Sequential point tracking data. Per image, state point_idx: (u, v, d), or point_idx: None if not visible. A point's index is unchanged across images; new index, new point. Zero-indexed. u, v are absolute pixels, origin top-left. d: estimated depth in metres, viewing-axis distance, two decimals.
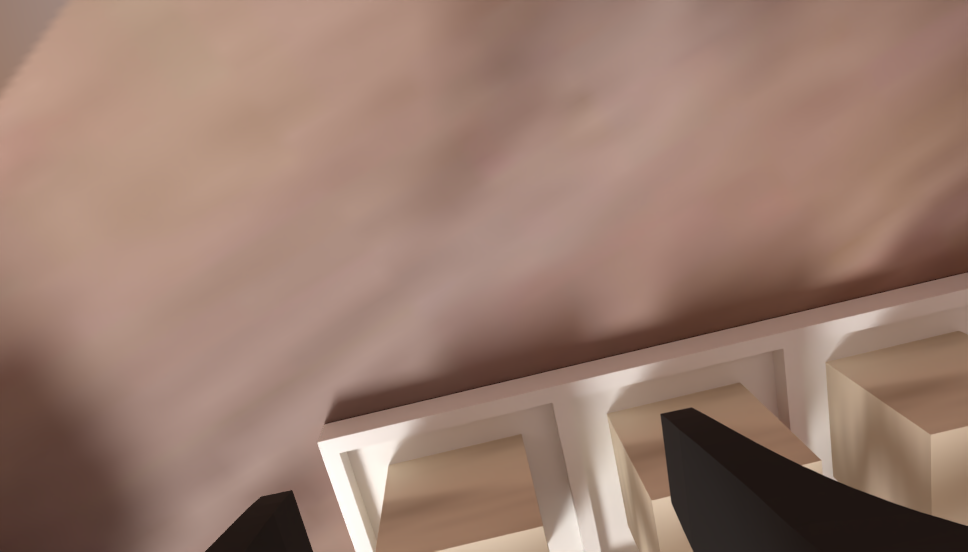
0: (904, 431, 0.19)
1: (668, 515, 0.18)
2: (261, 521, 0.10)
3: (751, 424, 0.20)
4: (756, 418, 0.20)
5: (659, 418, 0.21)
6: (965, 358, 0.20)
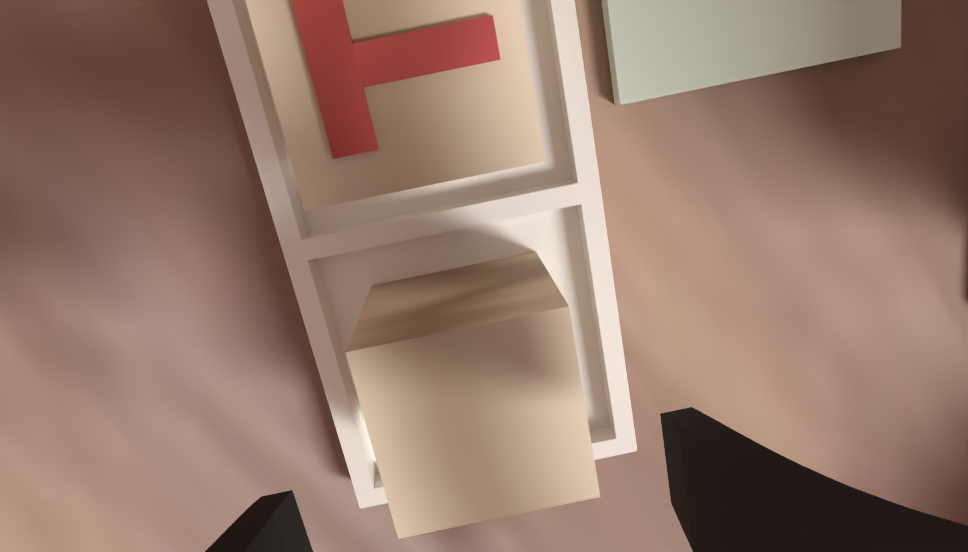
0: None
1: (330, 184, 0.12)
2: (261, 521, 0.10)
3: None
4: None
5: None
6: None
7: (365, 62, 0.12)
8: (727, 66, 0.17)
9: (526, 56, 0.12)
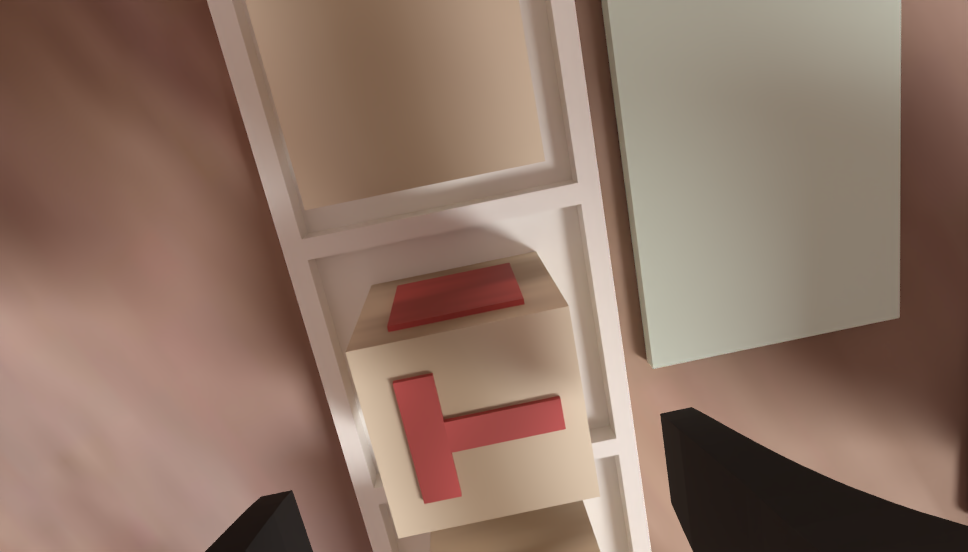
0: None
1: (420, 518, 0.15)
2: (261, 521, 0.10)
3: None
4: None
5: None
6: None
7: (454, 435, 0.14)
8: (747, 336, 0.19)
9: (586, 422, 0.14)
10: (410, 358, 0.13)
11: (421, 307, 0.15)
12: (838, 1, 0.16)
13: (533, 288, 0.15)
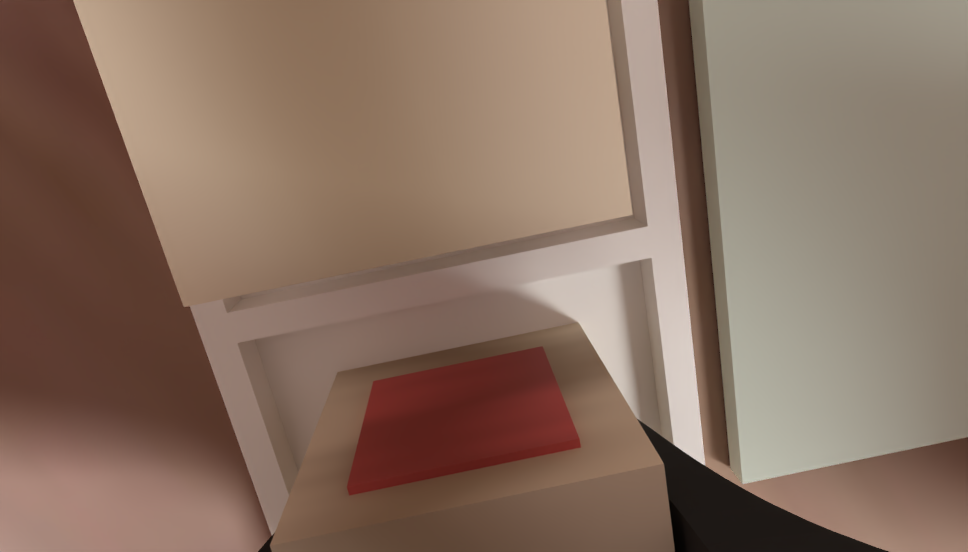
0: None
1: None
2: None
3: None
4: None
5: None
6: None
7: None
8: (878, 438, 0.13)
9: None
10: None
11: (407, 440, 0.09)
12: None
13: (590, 408, 0.09)
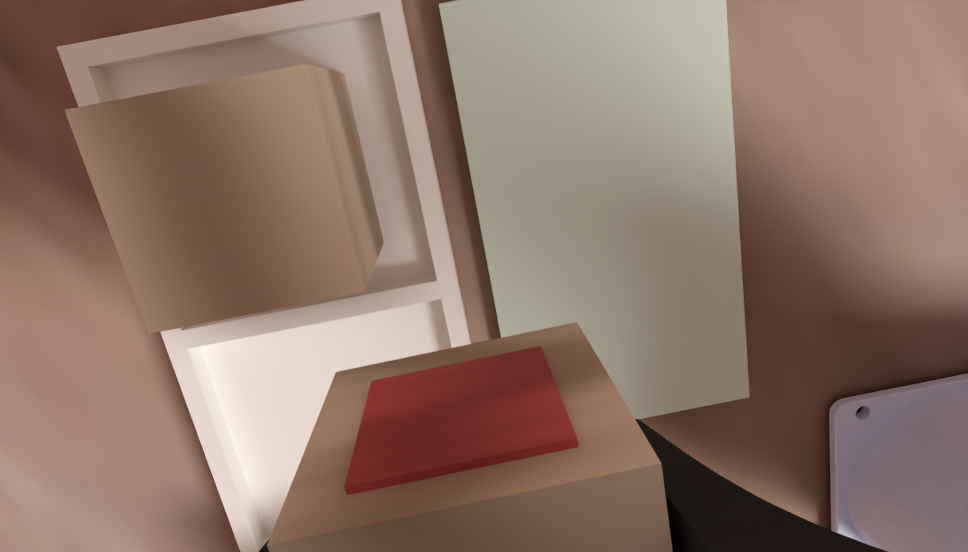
0: None
1: None
2: None
3: None
4: None
5: None
6: None
7: None
8: None
9: None
10: None
11: (404, 439, 0.09)
12: (675, 118, 0.18)
13: (587, 407, 0.09)
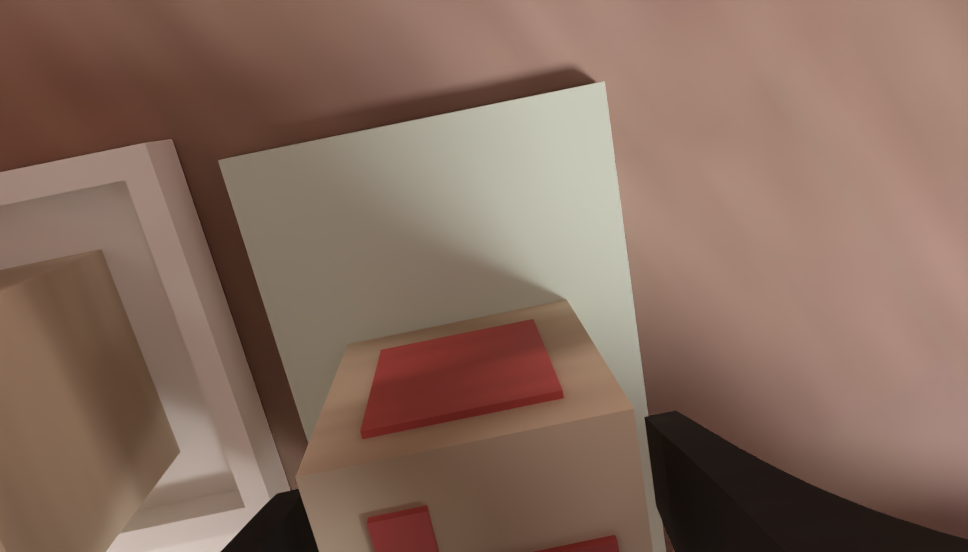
0: None
1: None
2: (279, 517, 0.10)
3: None
4: None
5: None
6: None
7: None
8: None
9: None
10: (393, 486, 0.09)
11: (412, 394, 0.10)
12: (554, 294, 0.14)
13: (572, 367, 0.10)
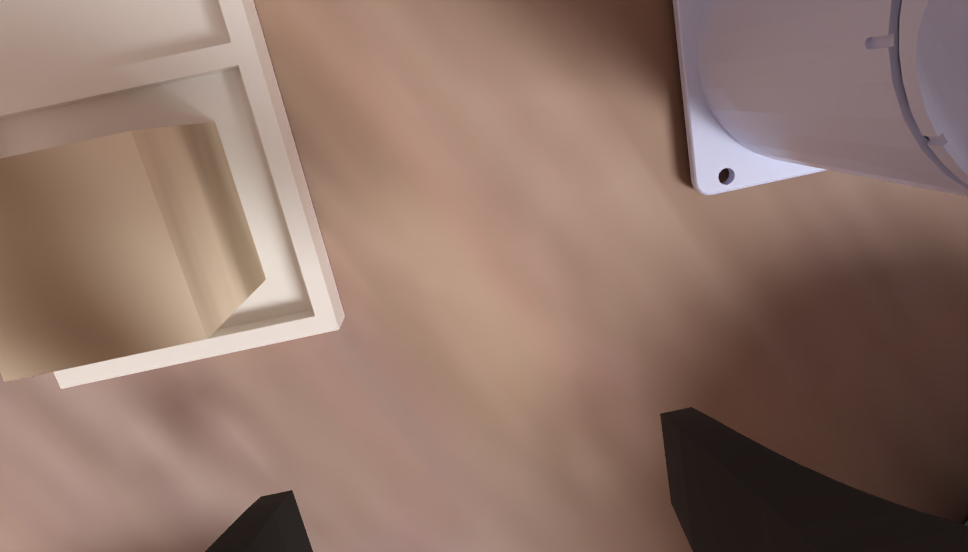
0: None
1: None
2: (261, 521, 0.10)
3: None
4: None
5: None
6: None
7: None
8: None
9: None
10: None
11: None
12: None
13: None
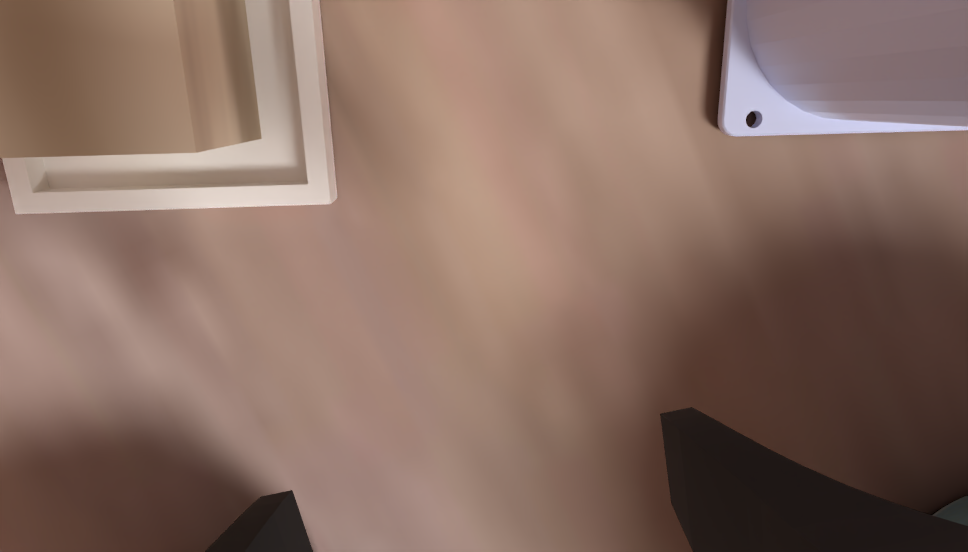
0: None
1: None
2: (261, 521, 0.10)
3: None
4: None
5: None
6: None
7: None
8: None
9: None
10: None
11: None
12: None
13: None
